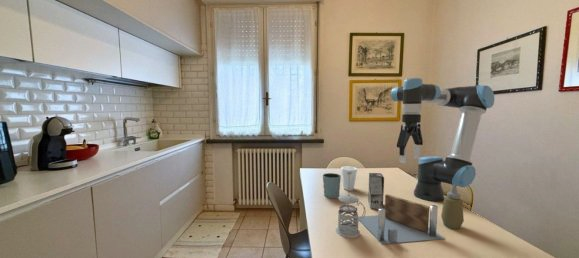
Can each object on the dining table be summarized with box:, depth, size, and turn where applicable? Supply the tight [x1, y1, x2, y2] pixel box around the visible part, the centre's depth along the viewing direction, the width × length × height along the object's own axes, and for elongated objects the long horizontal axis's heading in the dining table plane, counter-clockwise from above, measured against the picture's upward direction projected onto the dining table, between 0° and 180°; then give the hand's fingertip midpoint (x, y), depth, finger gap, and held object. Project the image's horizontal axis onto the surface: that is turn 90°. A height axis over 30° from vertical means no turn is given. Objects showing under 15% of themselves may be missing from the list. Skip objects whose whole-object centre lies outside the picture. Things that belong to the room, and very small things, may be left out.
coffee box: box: [368, 172, 385, 210], centre depth 127 cm, size 9×6×16 cm
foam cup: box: [340, 165, 358, 191], centre depth 154 cm, size 10×9×13 cm
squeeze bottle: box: [440, 185, 465, 230], centre depth 104 cm, size 8×8×18 cm
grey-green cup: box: [322, 172, 342, 199], centre depth 141 cm, size 10×10×12 cm
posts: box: [376, 204, 439, 243], centre depth 94 cm, size 24×4×12 cm, turn 99°
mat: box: [358, 214, 446, 245], centre depth 104 cm, size 26×23×1 cm
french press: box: [335, 171, 367, 239], centre depth 99 cm, size 10×12×25 cm
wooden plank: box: [384, 193, 431, 232], centre depth 105 cm, size 18×2×10 cm, turn 39°
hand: (409, 160), depth 111 cm, fingers open, 13 cm apart
